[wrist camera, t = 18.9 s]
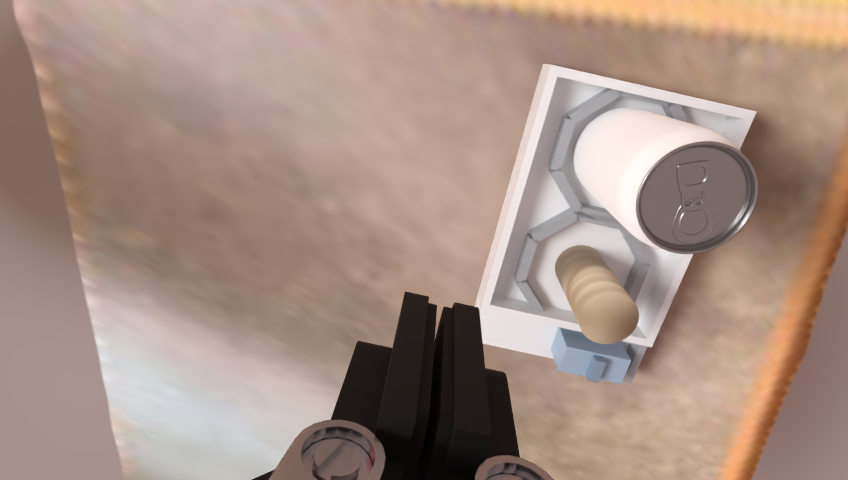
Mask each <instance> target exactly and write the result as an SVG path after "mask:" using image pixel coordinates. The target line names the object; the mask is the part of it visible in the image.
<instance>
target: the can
mask: <svg viewBox="0 0 848 480" xmlns="http://www.w3.org/2000/svg"><path fill="white" fill-rule="evenodd" d="M574 167H575V171H576V174H577V177H578V178H579V180H580V182H581V183H582V185H583V186H584V187H585V188H586V189H587V190H588V191H589V192H590V193H591V195H592V196H593V197H594V198H595V199H596V200H597V201H598V202H599V203H600V204H601V205H602V206H603V207H604V208H605V209H606V210H607V211H608V212H609V213H610V214H611V215H612V216H613V217H614V218H615V219H616V220H617V221H618V222H619V223H620V224H621V225H622V226H623V227H624V228H625V229H627V230H628V231H629V232H630V233H631V234H632V235H633V236H634V237H636V238H637V239H638V240H640V241H642V242H643V243H645V244H647V245H649V246H652V247H655V248H658V249H663V250H666V251H669V252H672V253H677V254H697V253H702V252H706V251H709V250H712V249H715V248H717V247H719V246H721V245H723V244H724V243H726V242H728V241H729V240H730V239H732V238H733V237H734V236H735V235H736V234H738V233H739V232H740V231H741V229H742V228H743V227H744V226H745V225H746V223H747V222H748V220H749V219H750V217H751V215H752V213H753V211H754V209H755V206H756V203H757V198H758V179H757V175H756V172H755V169H754V167H753V165H752V164H751V162H750V161H749V159H748V158H747V157H746V156H745V155H744V154H743V153H742V152H741V151H740V150H739V148H738V147H737V146H736V145H735V144H734V143H733V142H732V141H731V140H729V139H728V138H727V137H725V136H723V135H721V134H720V133H717V132H715V131H712V130H710V129H707V128H704V127H700V126H697V125H694V124H690V123H687V122H684V121H680V120H677V119H673V118H670V117H666V116H663V115H659V114H656V113H652V112H648V111H644V110H641V109H636V108H618V109H614V110H610V111H608V112H605V113H603V114H601V115H600V116H598V117H597V118H595V119H594V120H593V121H592V122H590V123H589V124H588V125H587V127H586V128H585V129H584V130H583V132H582V133H581V135H580V137H579V139H578V141H577V143H576V147H575V151H574Z"/></svg>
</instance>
